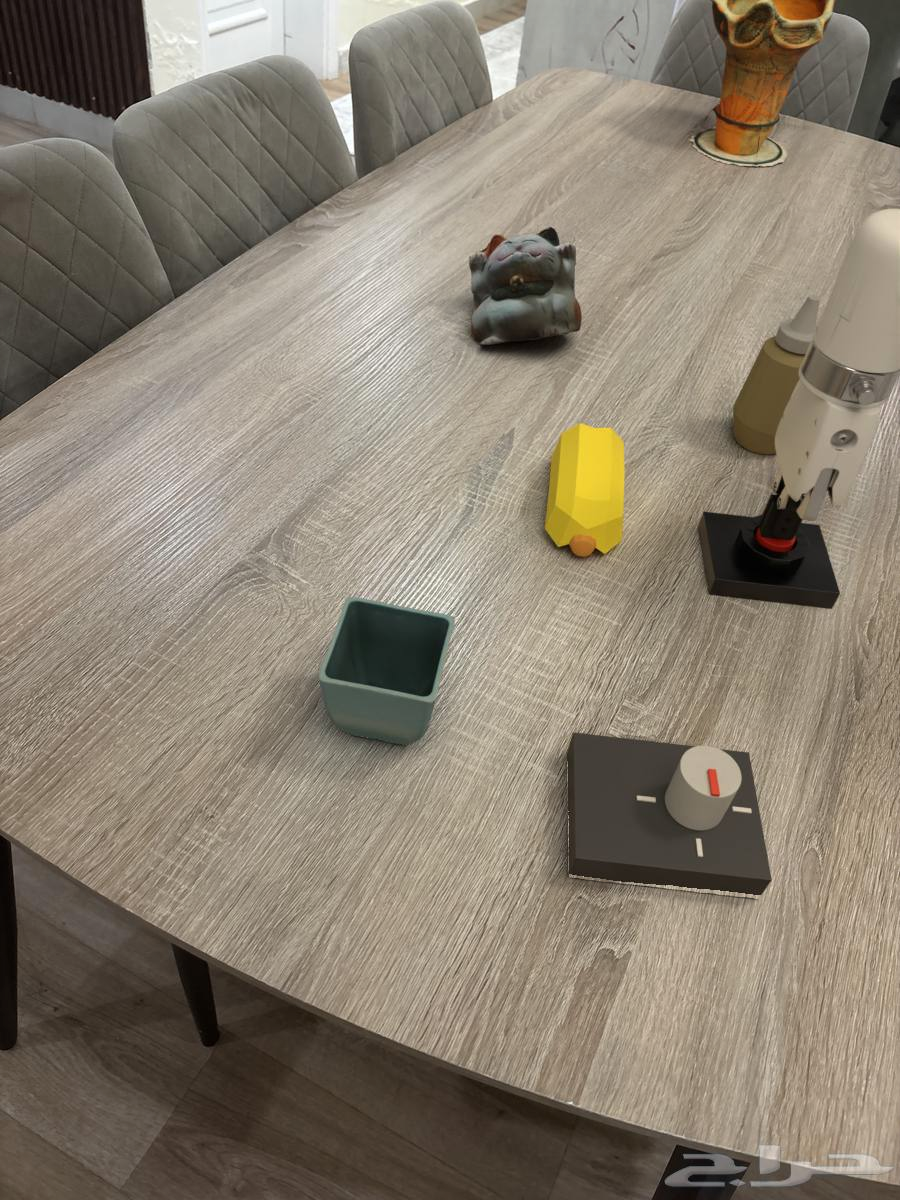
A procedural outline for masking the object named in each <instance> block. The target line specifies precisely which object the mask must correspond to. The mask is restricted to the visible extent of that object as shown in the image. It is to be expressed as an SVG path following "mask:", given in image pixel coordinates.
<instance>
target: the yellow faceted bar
mask: <svg viewBox="0 0 900 1200" xmlns="http://www.w3.org/2000/svg"><path fill="white" fill-rule="evenodd" d="M625 469H626V467H625V442H624V440H623V439H622V438H621V437H620V436H619V434H618V433H617V432H616V431H615V430H614V429H613V427H593V426H591V425H587V424H585V423H581V422H579V423H577V424H575V425H574V426H572V427H570V428H568V429H566V430H564V431H563V432H561V434H560V436H559V439H558V441H557V443H556V446H555V448H554V450H553V453H552V455H551V462H550V472H549V473H550V474H549V484H548V494H547V502H546V503H547V504H546V511H545V512H546V514H545V523H544V529H545V531H546V532H547V534H548V535H549V537H550V538H551V539H552V541H553V542H554V543H555V544H556V546H557V548H560V547H564V546H567V545H569V548H570V550H571V552H572V553H573V554H574V555H575V556H577V557H583V558H584V557H588V556H591V555H592V553H593V552H594V550H595V549H597V550H598V551H600V552H601V553H602V554H604V555H605V554H607V553H608V552H609V551H611V550H612V549H613V548H614V547H616V546H617V545H618V544H620V543H621V542H622V541H623V531H624V529H623V528H624V511H625V509H624V508H625V507H624V506H625V480H626V479H625V477H626V476H625V475H626V474H625V473H626V472H625V471H626V470H625Z"/></svg>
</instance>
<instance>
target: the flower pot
mask: <svg viewBox="0 0 900 1200" xmlns="http://www.w3.org/2000/svg"><path fill="white" fill-rule="evenodd" d="M455 623H456V619H455V617H454V616H451V615H449V614H446V613H442V612H436V611H430V610H424V609H418V608H412V607H407V606H402V605H396V604H393V603H387V602H383V601H377V600H373V599H368V598H364V597H358V596H357V597H356V596H348V597H346V598H345V600H344V602H343V605H342V608H341V611H340V613H339V617H338V620H337V622H336V625H335V629H334V630H333V631H334V632H333V635H332V636H331V640H330V642H329V646H328V647H327V651H326V653H325V655H324V659H323V661H322V664H321V666H320V668H319V671H318V683H319V687H320V692H321V697H322V700H323V704H324V708H325V711H326V715H327V716H328V718H329V719H330V721H331V722H332V723H333V725H335V726H336V727H337V728H338V729H340V730H341V731H343V732H345V733H347V734H348V735H351V734H352V735H351V736H355V735H357V736H356V737H360V736H363V737H362V738H365V737H368V738H367V739H370V738H373V739H372V740H375V739H378V740H377V741H380V740H382V741H381V742H385V741H387V742H386V743H390V742H392V743H391V744H395V743H396V745H400V744H402V745H401V746H408V745H412V744H414V743H417V742H419V741H420V740H421V739H422V738H423V737H424V735H425V734H426V733H427V731H428V728H429V724H430V721H431V719H432V714H433V710H434V707H435V704H436V701H437V697H438V694H439V689H440V685H441V681H442V676H443V671H444V668H445V663H446V659H447V655H448V651H449V647H450V643H451V639H452V636H453V632H454V627H455Z"/></svg>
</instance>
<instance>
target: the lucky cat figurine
mask: <svg viewBox="0 0 900 1200" xmlns="http://www.w3.org/2000/svg"><path fill="white" fill-rule="evenodd" d="M468 259H469V260H468V266H469V271H470V275H471V279H470V285H471V287H470V290H471V293H472V298H473V305H474V306H473V307H474V309H473V311H474V312H473V313H472V316H471V321H470V324H471V325H470V331H471V334H472V336H473V338H474V340H476V342H477V343H478V346H480V347H482V346H486V345H499V344H504V343H510V342H518V341H520V342H521V341H536V340H537V341H538V340H540V339H544V338H550V337H557V336H562V335H567V334H570V333H577V332H580V330H581V326H582V319H583V314H582V309H581V305H580V302H579V301H578V300H577V298H576V289H575V287H576V284H575V283H576V265H577V250H576V246H575V245H574V244H573V243H571V242H565V243H561V244H560V237H559V235H558V232H557V230H556V229H555V228H554V227H552V226H549V227H546V228H545V229H542V230H540V231H539V232H537V233H535V234H534V233H530V232H525V233H522V234H517V235H513V236H510V237H508V238H507V237H505V236H504V235H503V234H494V235H492V237H491V239H490V242H488V244H487V246H486V247H485V248H484V249H482V250H479V251H477V250H476V252H475V253H474V254H473V255H469V257H468Z"/></svg>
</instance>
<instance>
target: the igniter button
mask: <svg viewBox="0 0 900 1200" xmlns="http://www.w3.org/2000/svg"><path fill="white" fill-rule="evenodd" d="M755 539H756V540H757V541H758V542H759V543H760V544H761V545H762V546H764V547H766V548H768V549H770V550H772V551H777V552H787V551H791V549H792V546H793V544H794V542H795V536H794V538H793V539H792V540H783V539H774V538H766V537H762V536H761V534H760V529H759V528H758V530H757V533H756V535H755Z"/></svg>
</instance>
